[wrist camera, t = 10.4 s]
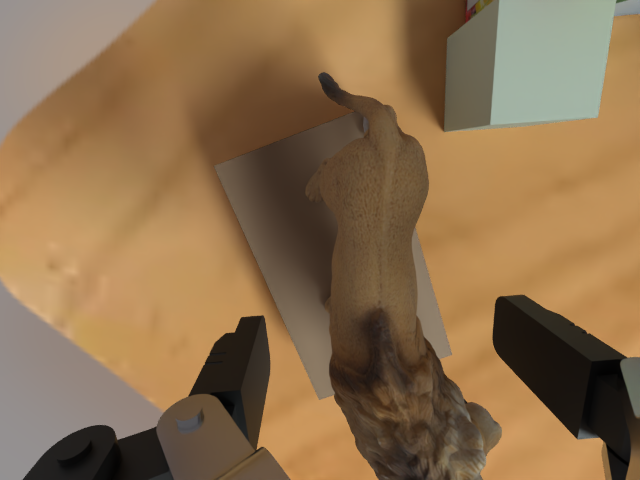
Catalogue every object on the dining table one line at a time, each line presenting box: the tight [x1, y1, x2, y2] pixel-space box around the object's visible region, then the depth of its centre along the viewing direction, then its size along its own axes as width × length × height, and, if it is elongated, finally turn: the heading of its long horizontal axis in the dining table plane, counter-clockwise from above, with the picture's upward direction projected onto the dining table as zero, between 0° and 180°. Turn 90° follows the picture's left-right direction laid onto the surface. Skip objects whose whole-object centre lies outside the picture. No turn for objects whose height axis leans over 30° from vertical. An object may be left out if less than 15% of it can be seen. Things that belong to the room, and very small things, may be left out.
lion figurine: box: [305, 72, 502, 480], centre depth 11 cm, size 15×5×9 cm, turn 15°
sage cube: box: [444, 0, 616, 132], centre depth 16 cm, size 5×5×5 cm
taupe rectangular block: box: [214, 112, 452, 400], centre depth 18 cm, size 8×14×5 cm, turn 20°
